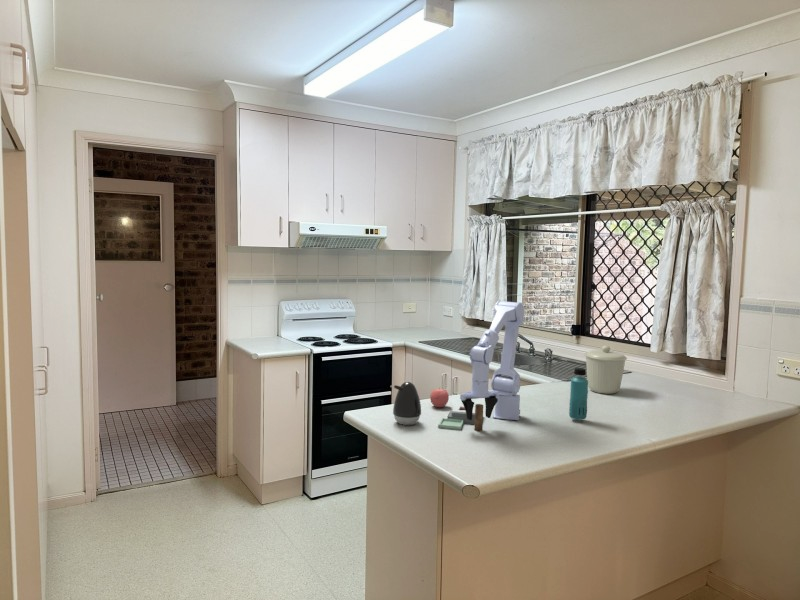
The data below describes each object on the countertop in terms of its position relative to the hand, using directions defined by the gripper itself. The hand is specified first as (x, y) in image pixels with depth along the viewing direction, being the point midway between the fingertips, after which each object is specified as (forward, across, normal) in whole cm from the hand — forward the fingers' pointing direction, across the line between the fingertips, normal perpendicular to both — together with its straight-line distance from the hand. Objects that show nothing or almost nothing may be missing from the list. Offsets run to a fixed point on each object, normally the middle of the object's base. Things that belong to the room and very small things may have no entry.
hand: (478, 418), depth 197 cm
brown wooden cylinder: (+4, 0, 0) cm, 4 cm away
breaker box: (+4, -2, -12) cm, 13 cm away
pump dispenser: (+4, +21, -16) cm, 26 cm away
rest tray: (+4, +7, -8) cm, 11 cm away
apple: (+4, 0, -30) cm, 30 cm away
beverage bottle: (+4, -41, +4) cm, 42 cm away
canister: (+4, -83, -27) cm, 88 cm away
